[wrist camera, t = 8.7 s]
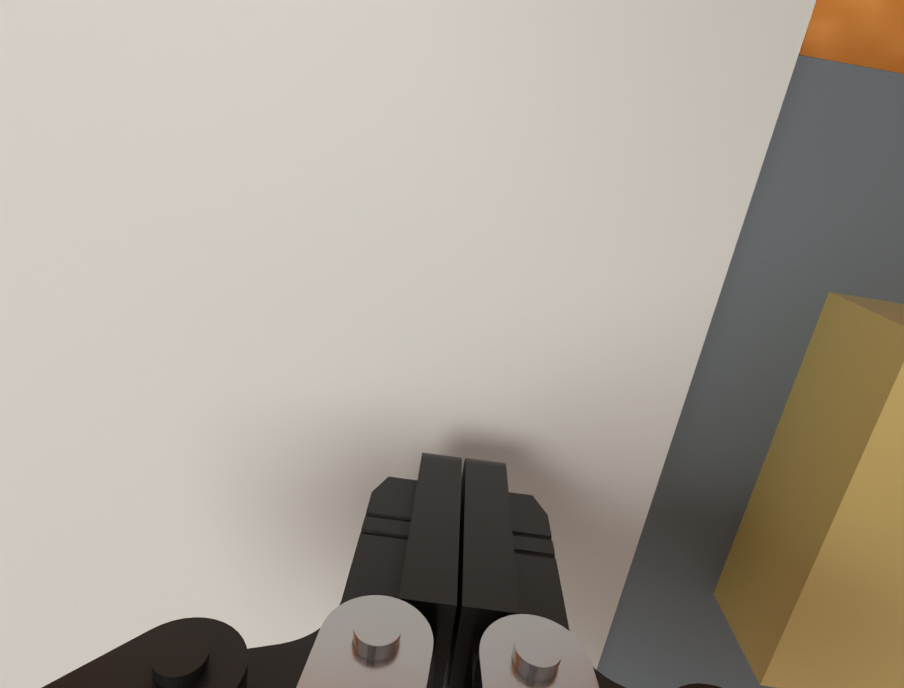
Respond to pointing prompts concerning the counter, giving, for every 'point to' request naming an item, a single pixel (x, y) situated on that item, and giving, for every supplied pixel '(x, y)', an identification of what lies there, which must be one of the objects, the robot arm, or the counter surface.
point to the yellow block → (829, 515)
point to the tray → (762, 360)
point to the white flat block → (348, 285)
